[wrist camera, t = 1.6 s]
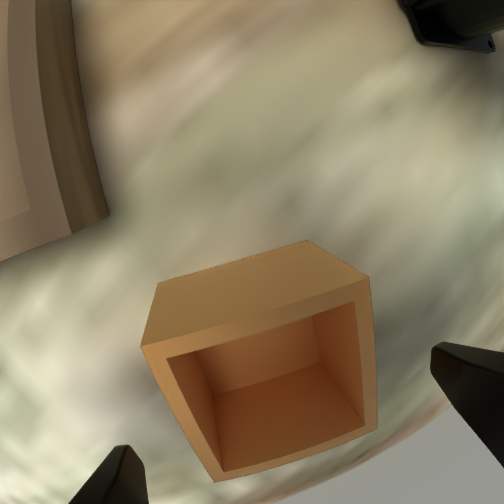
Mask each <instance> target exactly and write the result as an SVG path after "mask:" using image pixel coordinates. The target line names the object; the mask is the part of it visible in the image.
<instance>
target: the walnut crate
mask: <svg viewBox="0 0 504 504" xmlns="http://www.w3.org/2000/svg"><path fill="white" fill-rule="evenodd" d="M109 215H110V214H109V211H108V208H107V204H106V200H105V197H104V193H103V189H102V186H101V182H100V178H99V174H98V170H97V166H96V162H95V158H94V153H93V149H92V144H91V140H90V135H89V130H88V126H87V121H86V115H85V110H84V105H83V99H82V93H81V87H80V81H79V74H78V67H77V60H76V52H75V43H74V34H73V23H72V10H71V0H0V261H2V260H5V259H7V258H10V257H12V256H15V255H18V254H20V253H23V252H25V251H28V250H30V249H33V248H36V247H38V246H41V245H44V244H46V243H49V242H52V241H55V240H57V239H60V238H63V237H66V236H69V235H71V234H73V233H75V232H77V231H79V230H81V229H83V228H85V227H87V226H89V225H91V224H93V223H95V222H97V221H99V220H101V219H103V218H105V217H107V216H109Z"/></svg>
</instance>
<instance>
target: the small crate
mask: <svg viewBox="0 0 504 504" xmlns="http://www.w3.org/2000/svg"><path fill="white" fill-rule="evenodd" d="M140 347H141V349H142V351H143V354H144V356H145V358H146V360H147V362H148V364H149V366H150V369H151V371H152V373H153V375H154V377H155V379H156V381H157V383H158V385H159V387H160V389H161V391H162V393H163V395H164V397H165V399H166V401H167V403H168V405H169V406H170V408H171V410H172V412H173V414H174V416H175V418H176V420H177V421H178V423H179V425H180V427H181V429H182V430H183V432H184V434H185V436H186V437H187V439H188V441H189V443H190V444H191V446H192V448H193V449H194V451H195V453H196V454H197V456H198V458H199V459H200V461H201V463H202V464H203V466H204V467H205V469H206V471H207V472H208V474H209V475H210V477H211V478H212V480H213V481H214V483H215V482H220V481H225V480H229V479H234V478H238V477H242V476H246V475H250V474H254V473H257V472H261V471H265V470H268V469H272V468H275V467H278V466H282V465H285V464H288V463H291V462H294V461H297V460H300V459H303V458H306V457H309V456H312V455H315V454H317V453H320V452H323V451H326V450H328V449H331V448H333V447H336V446H338V445H341V444H343V443H346V442H348V441H351V440H353V439H355V438H358V437H360V436H362V435H364V434H367V433H369V432H371V431H373V430H375V429H377V374H376V354H375V338H374V325H373V313H372V302H371V293H370V284H369V277H368V276H366V275H364V274H363V273H361V272H359V271H358V270H356V269H355V268H353V267H351V266H350V265H348V264H346V263H345V262H343V261H341V260H340V259H338V258H336V257H335V256H333V255H331V254H330V253H328V252H326V251H325V250H323V249H321V248H320V247H318V246H316V245H315V244H313V243H311V242H309V241H308V240H306V241H302V242H299V243H295V244H292V245H289V246H285V247H282V248H278V249H275V250H271V251H268V252H264V253H261V254H257V255H254V256H250V257H247V258H243V259H240V260H236V261H233V262H230V263H226V264H223V265H219V266H216V267H212V268H209V269H205V270H202V271H198V272H195V273H191V274H188V275H184V276H181V277H177V278H174V279H170V280H167V281H163V282H160V283H158V285H157V288H156V292H155V295H154V298H153V302H152V305H151V309H150V312H149V316H148V320H147V323H146V327H145V331H144V334H143V338H142V342H141V346H140Z"/></svg>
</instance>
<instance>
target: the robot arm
mask: <svg viewBox="0 0 504 504" xmlns="http://www.w3.org/2000/svg"><path fill="white" fill-rule="evenodd" d="M402 1H403V3H404V5H405V8H406V10H407V13H408V15H409V18H410V21H411V23H412V26H413V28H414V31H415V34H416V36H417V38H418V39H419V40H420V41H421V42H422V43H424V44H429V45H438V46H446V47H453V48H460V49H467V50H473V51H478V52H483V53H493V52H495V45H494V42H493V39H492V36H491V33H494V32H497V31H501V30H504V0H402ZM425 34H426V35H427V36H426V35H425ZM430 371H431V374H432V375H433V377H434V378H435V380H436V381H437V383H438V384H439V386H440V387H441V389H442V390H443V392H444V393H445V395H446V396H447V398H448V399H449V401H450V402H451V404H452V405H453V406H454V408H455V409H456V410H457V412H458V413H459V414H460V415H461V416H462V418H463V419H464V420H465V421H466V422H467V424H468V425H469V426H470V427H471V428H472V430H473V431H474V432H475V433H476V434H477V436H478V437H479V438H480V439H481V440H482V442H483V443H484V444H485V445H486V446H487V448H488V449H489V450H490V451H491V453H492V454H493V455H494V456H495V457H496V459H497V460H498V461H499V463H500V464H501V465H502V466H503V468H504V352H498V351H492V350H487V349H481V348H476V347H470V346H465V345H460V344H454V343H449V342H441V343H439V344H437V345H435V346H434V347H433V348H432V350H431V362H430ZM68 504H149V501H148V494H147V486H146V477H145V469H144V465H143V463H142V461H141V459H140V458H139V457H138V455H137V454H136V453H135V451H134V450H133V448H132V447H131V446H130V445H119V446H115V447H114V448H113V450H112V451H111V452H110V453H109V454H108V456H107V457H106V458H105V459H104V461H103V462H102V463H101V464H100V466H99V467H98V468H97V469H96V470H95V472H94V473H93V474H92V475H91V477H90V478H89V479H88V480H87V481H86V483H85V484H84V485H83V486H82V488H81V489H80V490H79V491H78V492H77V494H76V495H75V496H74V497H73V499H72V500H71V501H70V502H69V503H68Z"/></svg>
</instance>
